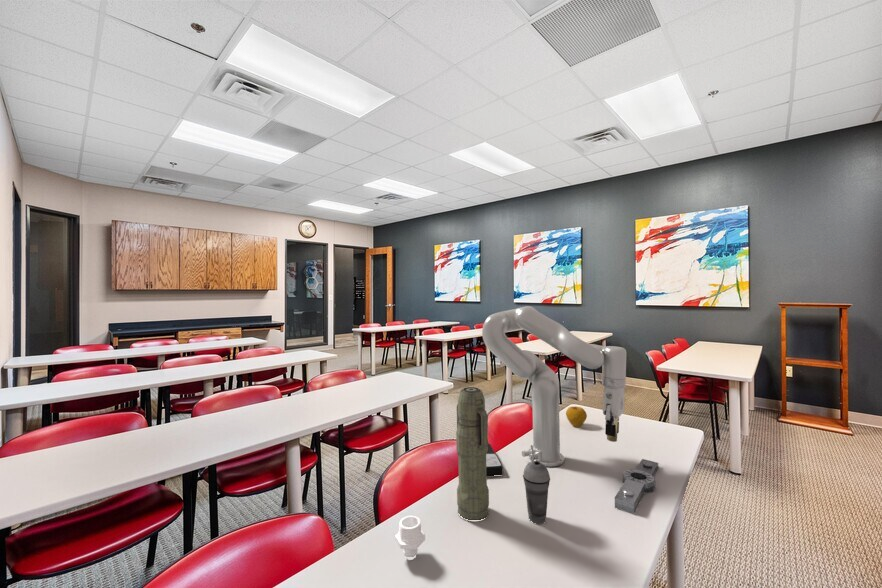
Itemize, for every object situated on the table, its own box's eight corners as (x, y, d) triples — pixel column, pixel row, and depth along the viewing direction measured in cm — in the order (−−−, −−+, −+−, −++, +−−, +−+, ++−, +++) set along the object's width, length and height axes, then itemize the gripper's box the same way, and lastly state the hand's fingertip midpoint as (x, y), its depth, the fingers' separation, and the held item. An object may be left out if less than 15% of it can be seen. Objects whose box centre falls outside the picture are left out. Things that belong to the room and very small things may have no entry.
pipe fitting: (390, 560, 85) (389, 526, 85) (408, 542, 91) (408, 510, 91) (412, 570, 82) (411, 535, 82) (430, 551, 88) (429, 518, 88)
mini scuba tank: (546, 531, 95) (545, 454, 95) (519, 522, 99) (518, 448, 98) (554, 516, 101) (553, 444, 101) (528, 508, 105) (527, 439, 105)
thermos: (478, 529, 96) (476, 396, 96) (447, 509, 105) (445, 388, 104) (499, 515, 102) (497, 390, 101) (469, 497, 110) (467, 382, 110)
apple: (585, 423, 171) (585, 404, 171) (588, 430, 162) (588, 410, 162) (565, 421, 173) (565, 402, 173) (567, 428, 164) (567, 408, 164)
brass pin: (611, 442, 126) (612, 416, 126) (604, 438, 129) (605, 413, 129) (619, 441, 127) (619, 415, 127) (611, 437, 130) (612, 412, 130)
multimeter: (490, 452, 142) (490, 439, 142) (503, 477, 123) (502, 462, 123) (457, 454, 141) (456, 441, 141) (464, 479, 122) (464, 464, 122)
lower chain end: (651, 496, 110) (651, 488, 110) (620, 486, 115) (620, 479, 115) (664, 468, 126) (664, 462, 126) (636, 461, 132) (636, 455, 132)
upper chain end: (641, 517, 100) (641, 503, 100) (607, 505, 105) (607, 492, 105) (656, 484, 116) (656, 472, 116) (627, 475, 122) (627, 464, 122)
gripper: (618, 388, 119) (616, 444, 119) (631, 379, 132) (629, 430, 132) (594, 384, 124) (593, 437, 124) (609, 376, 136) (607, 424, 137)
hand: (612, 433), depth 128 cm, fingers closed on brass pin, 3 cm apart
